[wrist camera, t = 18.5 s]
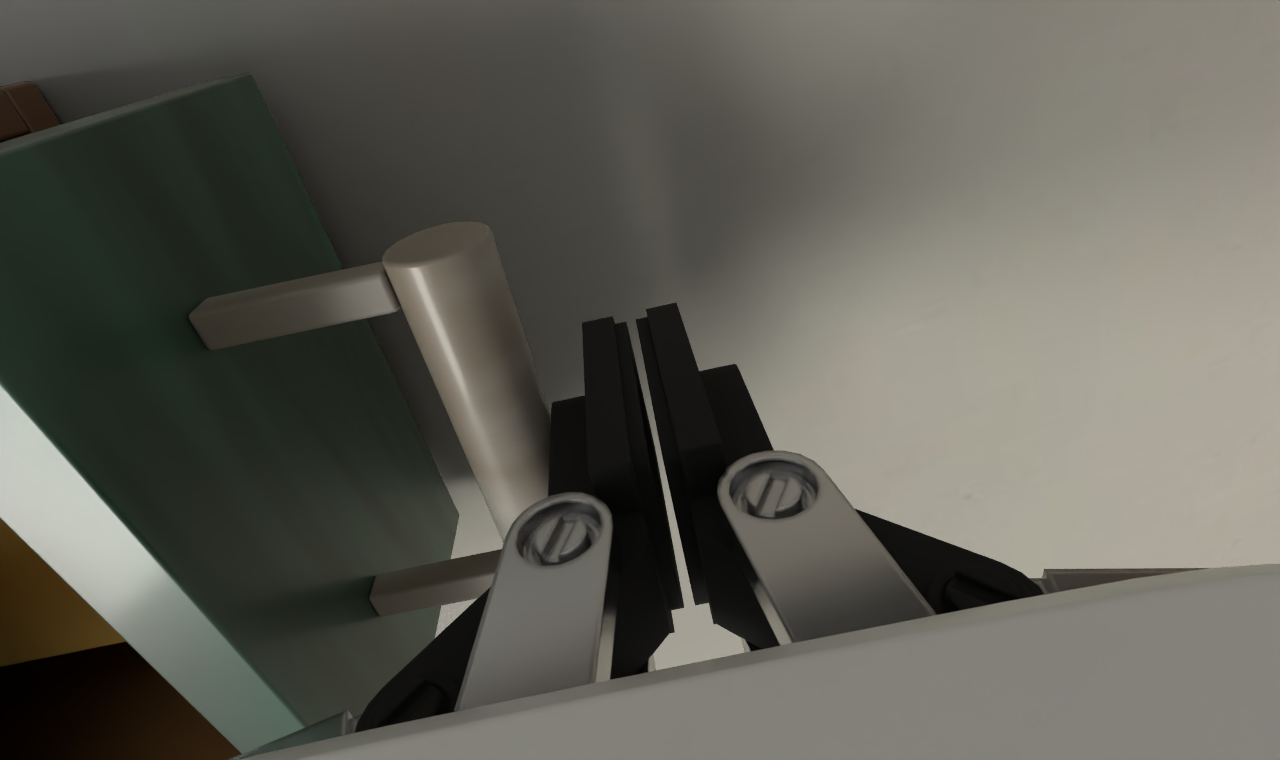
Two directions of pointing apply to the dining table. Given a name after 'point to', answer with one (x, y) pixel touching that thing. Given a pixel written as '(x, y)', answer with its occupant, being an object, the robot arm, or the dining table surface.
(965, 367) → the dining table surface
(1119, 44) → the dining table surface
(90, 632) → the block
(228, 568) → the drawer
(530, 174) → the dining table surface
